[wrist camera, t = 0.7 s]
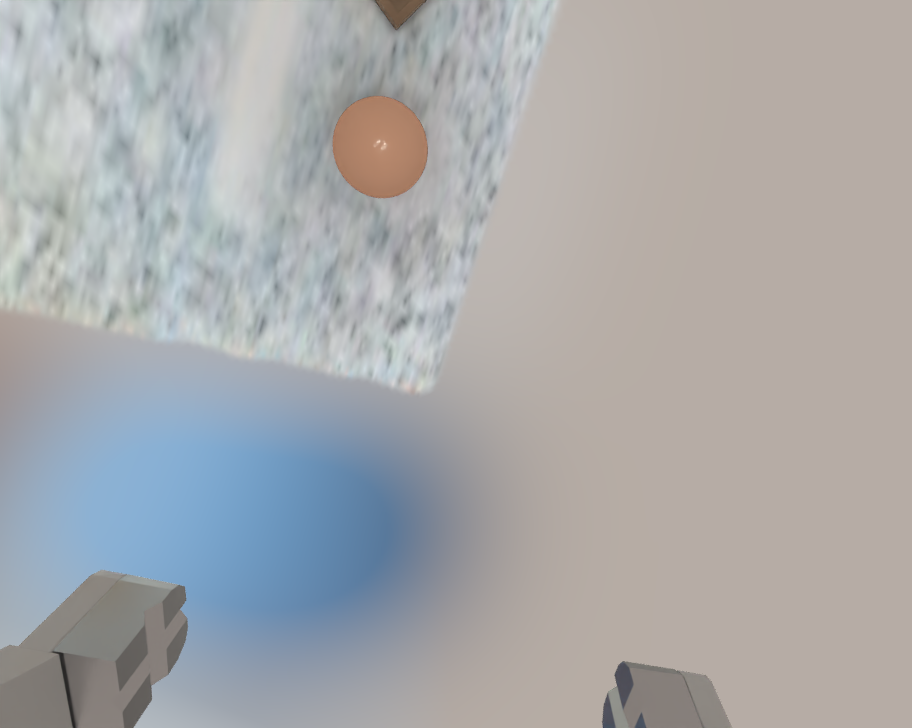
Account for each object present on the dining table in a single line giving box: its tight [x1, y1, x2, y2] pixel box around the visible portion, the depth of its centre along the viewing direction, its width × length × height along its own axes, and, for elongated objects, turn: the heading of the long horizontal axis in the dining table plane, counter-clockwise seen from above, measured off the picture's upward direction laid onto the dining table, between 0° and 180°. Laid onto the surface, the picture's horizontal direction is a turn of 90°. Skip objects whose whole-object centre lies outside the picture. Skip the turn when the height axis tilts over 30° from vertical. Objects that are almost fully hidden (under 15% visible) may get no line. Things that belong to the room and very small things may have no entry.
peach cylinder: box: [333, 96, 428, 198], centre depth 39 cm, size 6×6×12 cm
